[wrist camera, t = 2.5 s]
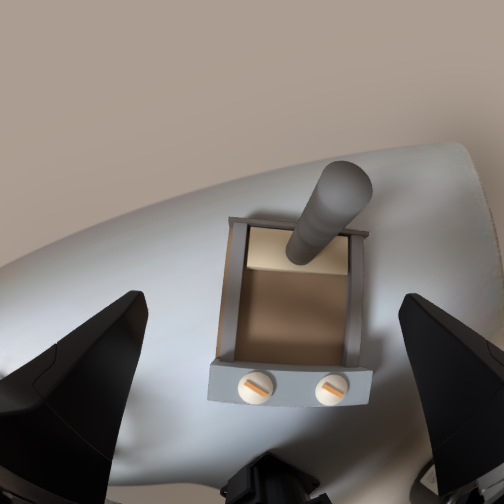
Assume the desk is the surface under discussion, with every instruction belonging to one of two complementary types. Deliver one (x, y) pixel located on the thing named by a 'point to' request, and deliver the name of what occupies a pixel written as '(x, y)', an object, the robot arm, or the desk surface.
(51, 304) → the desk surface
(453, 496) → the ink bottle
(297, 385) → the gauge cabinet
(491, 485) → the robot arm
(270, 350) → the open grey box
